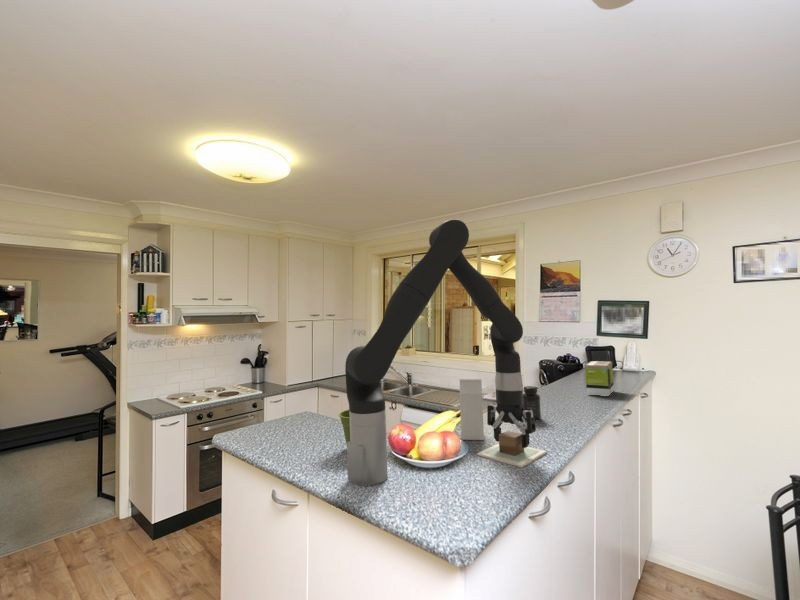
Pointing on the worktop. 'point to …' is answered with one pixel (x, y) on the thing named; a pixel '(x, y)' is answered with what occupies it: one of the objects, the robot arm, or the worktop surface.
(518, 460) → the coaster
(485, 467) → the worktop surface
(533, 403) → the supplement bottle
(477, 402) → the milk carton
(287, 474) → the worktop surface
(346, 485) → the worktop surface
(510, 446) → the walnut block
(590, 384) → the tea box
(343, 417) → the plant pot
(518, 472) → the worktop surface
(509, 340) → the robot arm
